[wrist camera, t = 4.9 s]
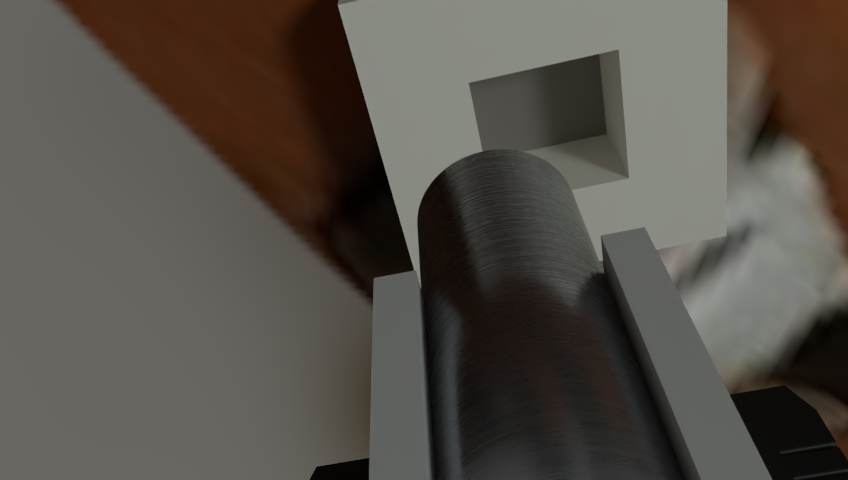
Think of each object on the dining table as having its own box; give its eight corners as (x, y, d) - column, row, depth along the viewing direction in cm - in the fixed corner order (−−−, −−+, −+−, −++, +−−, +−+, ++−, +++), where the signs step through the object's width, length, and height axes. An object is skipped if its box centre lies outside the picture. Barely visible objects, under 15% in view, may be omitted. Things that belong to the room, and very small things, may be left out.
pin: (402, 166, 16) (427, 923, 6) (568, 135, 16) (887, 868, 6) (433, 295, 18) (492, 1033, 8) (581, 268, 18) (840, 998, 8)
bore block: (343, -32, 28) (337, 5, 24) (685, -114, 26) (727, -87, 23) (418, 239, 34) (421, 296, 31) (692, 182, 33) (726, 235, 30)
